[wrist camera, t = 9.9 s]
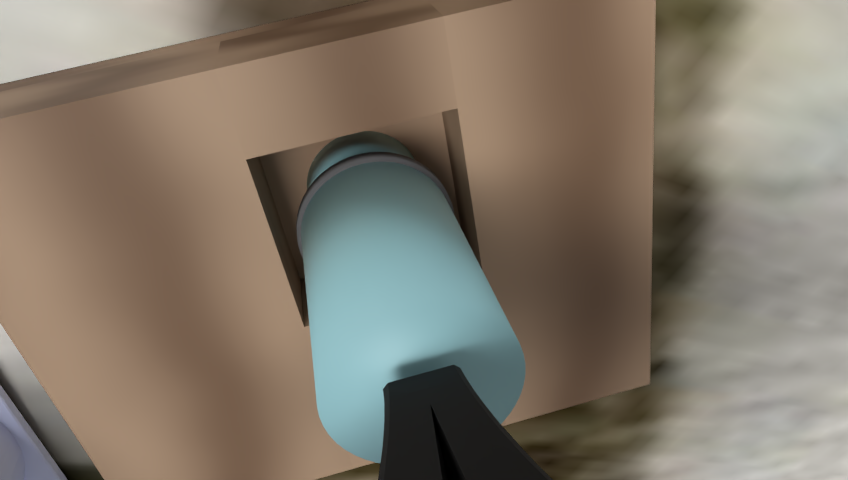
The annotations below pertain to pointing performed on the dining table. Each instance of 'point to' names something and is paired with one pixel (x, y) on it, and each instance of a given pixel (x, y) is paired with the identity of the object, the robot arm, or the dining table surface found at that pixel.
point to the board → (279, 203)
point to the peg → (393, 289)
